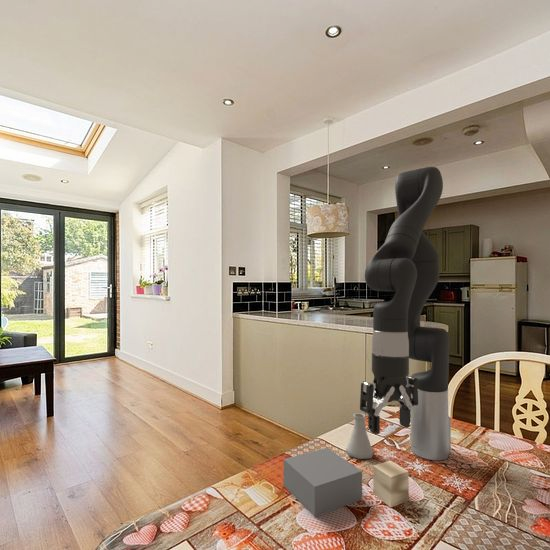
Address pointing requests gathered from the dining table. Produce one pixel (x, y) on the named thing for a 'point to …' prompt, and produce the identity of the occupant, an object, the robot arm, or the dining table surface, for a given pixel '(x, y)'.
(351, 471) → the grey box
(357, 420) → the flask
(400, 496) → the birch block
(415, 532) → the dining table surface
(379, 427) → the robot arm
